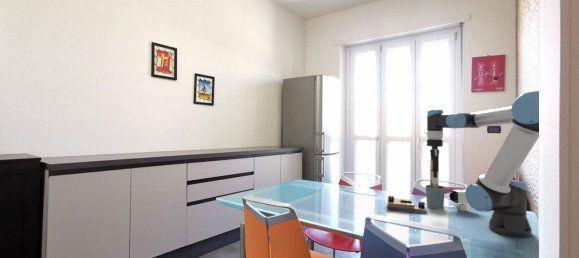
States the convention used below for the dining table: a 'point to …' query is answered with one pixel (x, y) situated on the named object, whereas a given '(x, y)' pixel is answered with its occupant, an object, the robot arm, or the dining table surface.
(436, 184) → the brass pin
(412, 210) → the brown block with knobs
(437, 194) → the grey green open container
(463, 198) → the white camera
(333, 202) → the dining table surface
